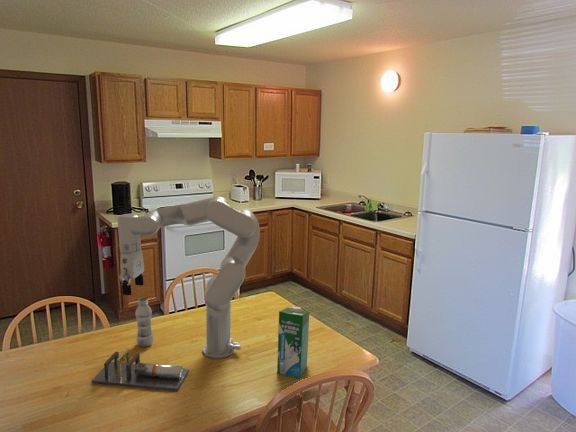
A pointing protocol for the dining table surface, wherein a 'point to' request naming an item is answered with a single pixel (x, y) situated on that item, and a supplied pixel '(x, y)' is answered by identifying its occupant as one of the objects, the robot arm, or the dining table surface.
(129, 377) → the collar
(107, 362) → the collar
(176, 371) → the tube
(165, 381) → the plate
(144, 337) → the plastic bottle
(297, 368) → the milk carton
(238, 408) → the dining table surface
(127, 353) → the aperture bridge
